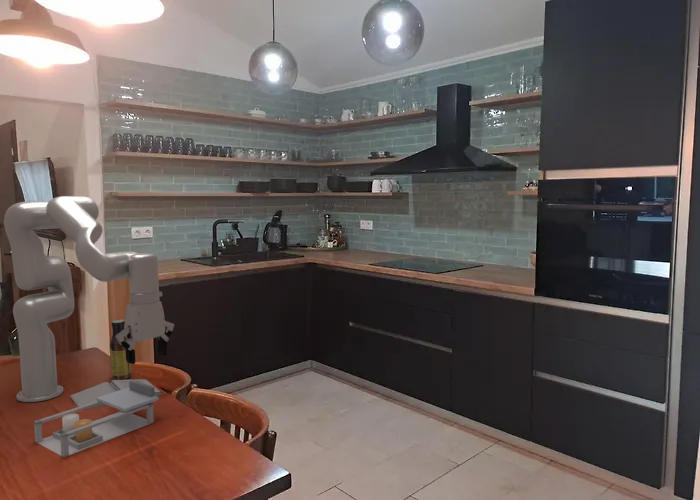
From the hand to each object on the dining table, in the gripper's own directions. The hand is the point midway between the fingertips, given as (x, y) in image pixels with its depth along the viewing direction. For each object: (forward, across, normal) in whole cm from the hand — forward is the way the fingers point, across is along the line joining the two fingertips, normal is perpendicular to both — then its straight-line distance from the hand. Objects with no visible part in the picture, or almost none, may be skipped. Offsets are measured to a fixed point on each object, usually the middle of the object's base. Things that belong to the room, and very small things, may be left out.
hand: (147, 358), depth 150 cm
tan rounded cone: (+16, +20, +3) cm, 25 cm away
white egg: (+16, +20, -3) cm, 26 cm away
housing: (+16, +15, 0) cm, 22 cm away
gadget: (+17, -2, -22) cm, 28 cm away
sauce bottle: (+17, -12, -36) cm, 42 cm away
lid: (+10, +6, 0) cm, 12 cm away
